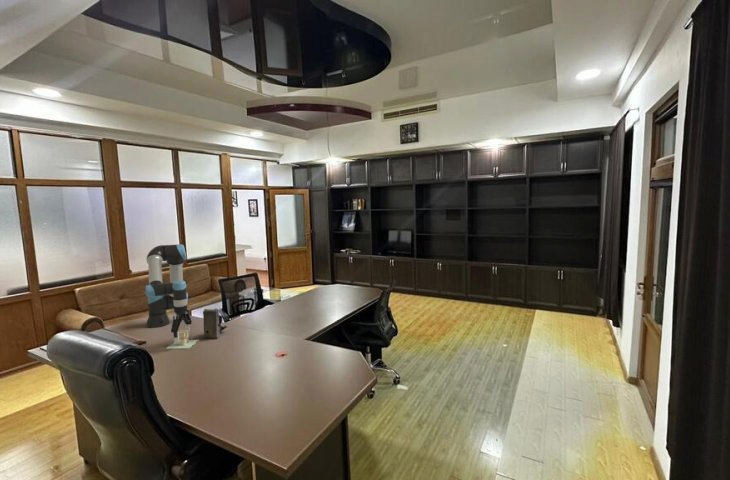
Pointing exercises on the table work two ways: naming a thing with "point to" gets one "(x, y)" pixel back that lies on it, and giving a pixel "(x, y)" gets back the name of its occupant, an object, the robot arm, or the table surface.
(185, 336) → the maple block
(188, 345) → the rest mat
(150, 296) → the robot arm
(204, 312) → the grey upright block
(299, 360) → the table surface
